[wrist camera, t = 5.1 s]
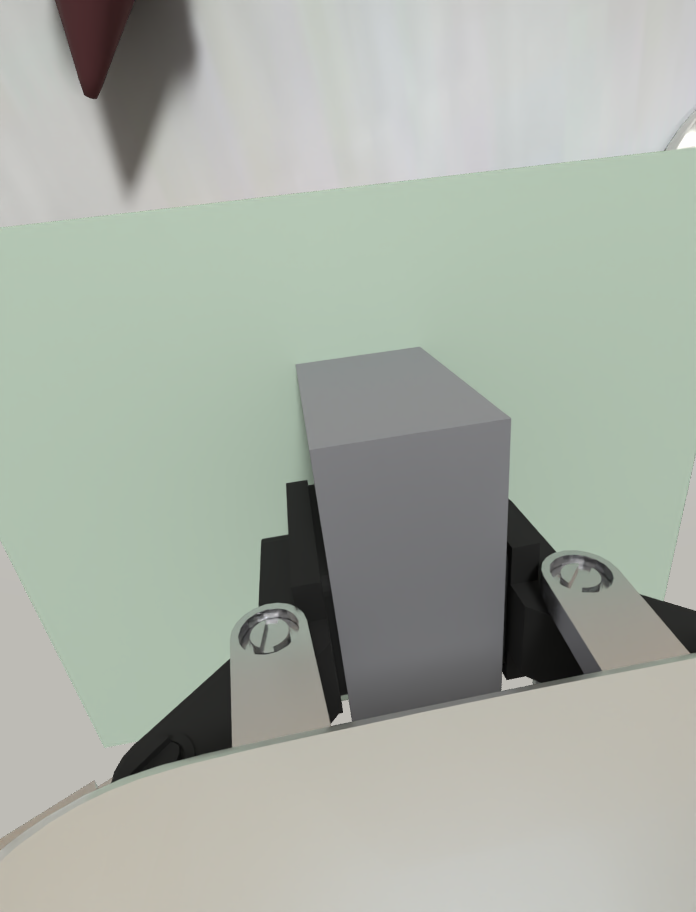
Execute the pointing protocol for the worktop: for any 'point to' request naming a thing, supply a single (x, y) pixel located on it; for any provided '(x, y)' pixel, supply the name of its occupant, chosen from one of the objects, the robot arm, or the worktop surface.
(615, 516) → the lid
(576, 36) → the worktop surface
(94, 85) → the icecream
